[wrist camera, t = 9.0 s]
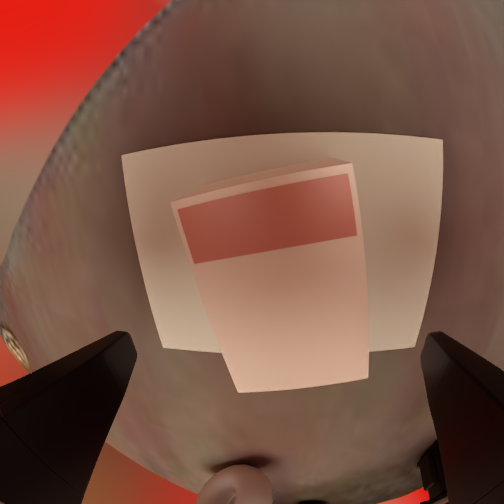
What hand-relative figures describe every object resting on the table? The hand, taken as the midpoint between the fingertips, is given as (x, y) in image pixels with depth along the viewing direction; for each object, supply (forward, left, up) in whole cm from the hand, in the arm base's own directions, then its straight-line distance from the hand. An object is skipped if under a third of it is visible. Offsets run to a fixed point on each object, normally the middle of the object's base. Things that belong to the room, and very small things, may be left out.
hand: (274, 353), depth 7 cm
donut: (+5, +24, -8) cm, 26 cm away
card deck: (0, 0, -7) cm, 7 cm away
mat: (0, 0, -7) cm, 7 cm away
